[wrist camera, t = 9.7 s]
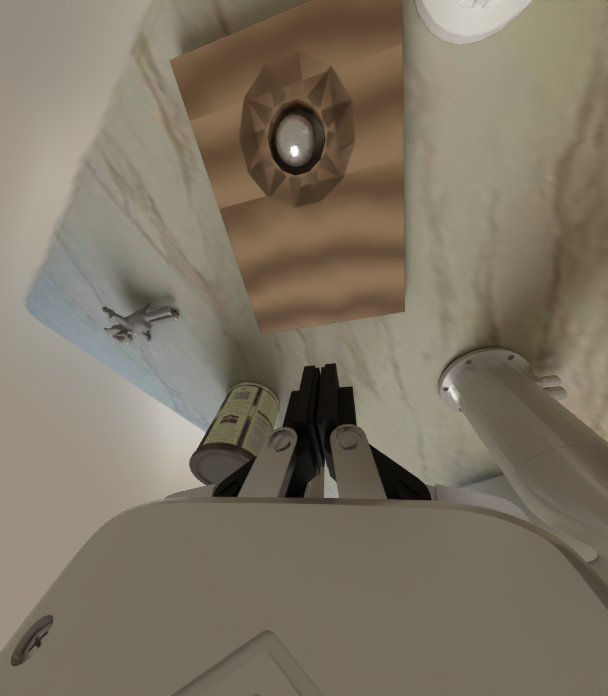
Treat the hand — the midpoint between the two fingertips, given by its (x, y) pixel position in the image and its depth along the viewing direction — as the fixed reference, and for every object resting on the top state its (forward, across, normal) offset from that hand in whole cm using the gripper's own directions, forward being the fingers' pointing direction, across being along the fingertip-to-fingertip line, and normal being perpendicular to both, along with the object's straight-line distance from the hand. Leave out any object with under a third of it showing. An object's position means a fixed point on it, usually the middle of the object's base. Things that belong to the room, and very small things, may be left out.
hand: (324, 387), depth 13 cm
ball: (+20, +1, -15) cm, 25 cm away
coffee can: (+23, +18, +20) cm, 35 cm away
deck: (+22, +1, -9) cm, 24 cm away
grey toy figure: (+22, +29, 0) cm, 36 cm away
